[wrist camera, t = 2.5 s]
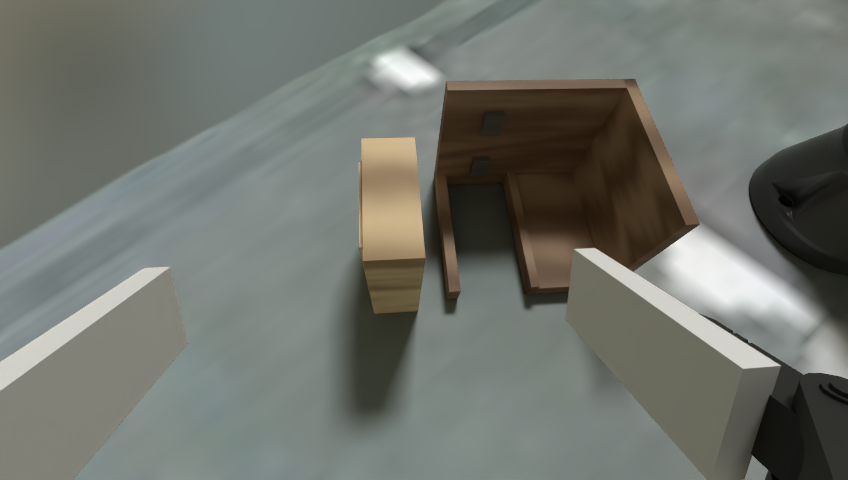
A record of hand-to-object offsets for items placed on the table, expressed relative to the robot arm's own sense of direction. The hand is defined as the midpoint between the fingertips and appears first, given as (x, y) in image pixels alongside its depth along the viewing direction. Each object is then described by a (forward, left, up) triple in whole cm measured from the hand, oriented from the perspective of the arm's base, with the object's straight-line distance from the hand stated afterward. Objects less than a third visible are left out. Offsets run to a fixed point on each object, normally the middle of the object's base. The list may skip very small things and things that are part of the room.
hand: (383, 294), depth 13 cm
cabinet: (0, -19, -22) cm, 29 cm away
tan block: (+7, -8, -22) cm, 25 cm away
